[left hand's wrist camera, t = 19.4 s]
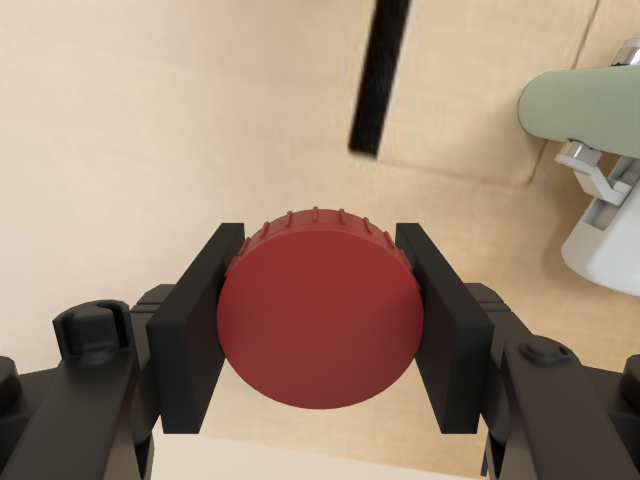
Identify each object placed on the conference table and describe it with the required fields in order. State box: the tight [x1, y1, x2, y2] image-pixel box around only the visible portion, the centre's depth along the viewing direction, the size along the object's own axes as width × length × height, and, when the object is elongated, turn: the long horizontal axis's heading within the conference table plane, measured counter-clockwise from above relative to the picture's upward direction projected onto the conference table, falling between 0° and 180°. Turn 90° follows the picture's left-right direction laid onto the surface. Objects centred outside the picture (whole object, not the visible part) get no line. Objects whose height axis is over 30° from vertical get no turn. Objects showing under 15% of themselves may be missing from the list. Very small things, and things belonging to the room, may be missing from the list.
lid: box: [216, 207, 424, 409], centre depth 11 cm, size 5×5×2 cm
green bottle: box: [518, 64, 640, 159], centre depth 23 cm, size 5×5×18 cm
